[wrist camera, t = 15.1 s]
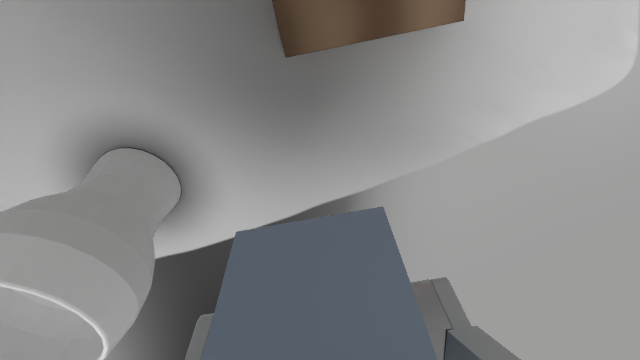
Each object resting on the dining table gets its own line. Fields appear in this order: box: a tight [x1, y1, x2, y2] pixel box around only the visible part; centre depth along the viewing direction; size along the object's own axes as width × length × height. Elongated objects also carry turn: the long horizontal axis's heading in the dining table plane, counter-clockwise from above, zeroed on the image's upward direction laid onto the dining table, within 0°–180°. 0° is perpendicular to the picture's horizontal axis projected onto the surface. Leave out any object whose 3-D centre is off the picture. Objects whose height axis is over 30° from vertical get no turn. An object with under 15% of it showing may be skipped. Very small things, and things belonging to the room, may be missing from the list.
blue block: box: [202, 207, 438, 360], centre depth 9 cm, size 5×5×5 cm
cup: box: [0, 148, 181, 360], centre depth 23 cm, size 11×11×15 cm
